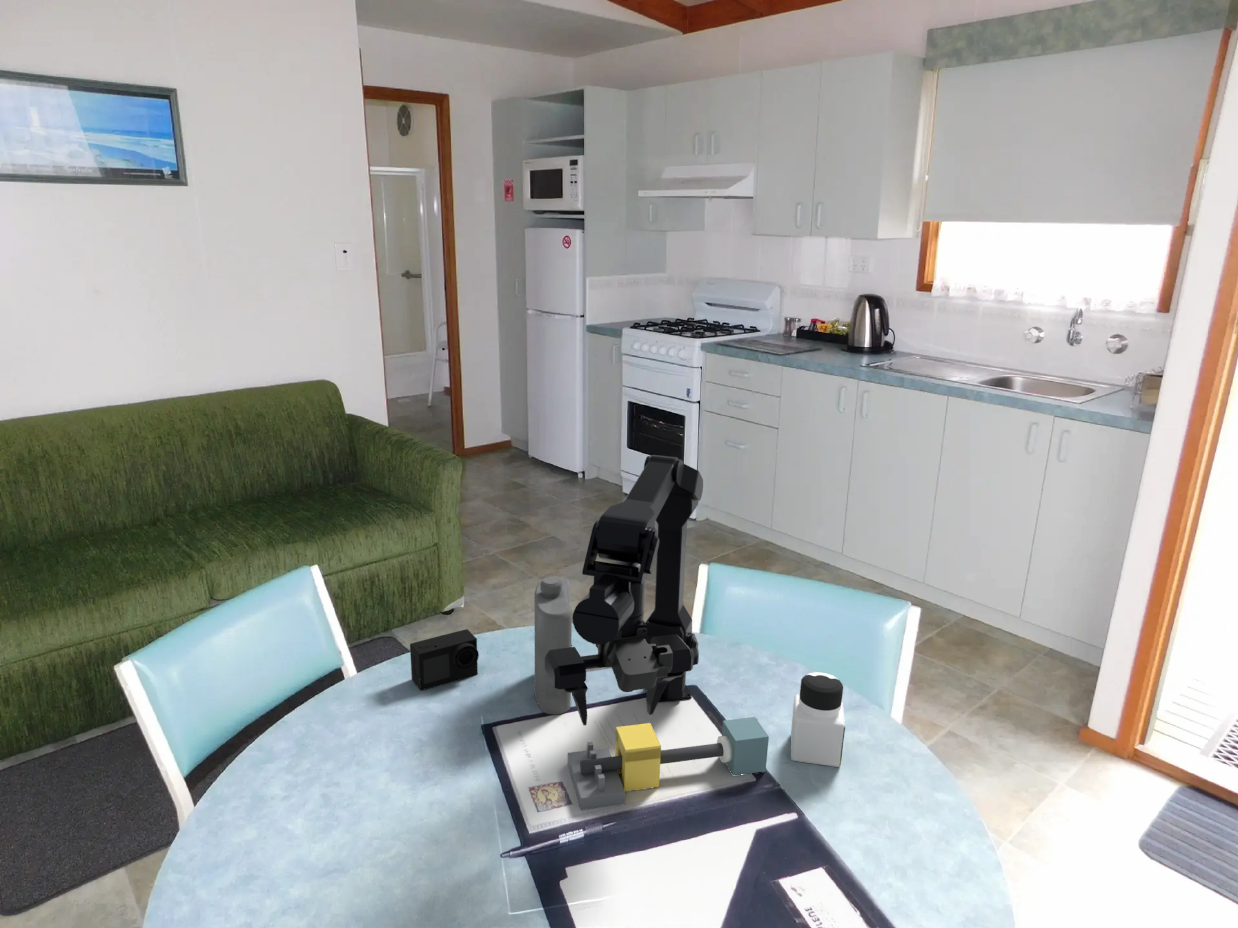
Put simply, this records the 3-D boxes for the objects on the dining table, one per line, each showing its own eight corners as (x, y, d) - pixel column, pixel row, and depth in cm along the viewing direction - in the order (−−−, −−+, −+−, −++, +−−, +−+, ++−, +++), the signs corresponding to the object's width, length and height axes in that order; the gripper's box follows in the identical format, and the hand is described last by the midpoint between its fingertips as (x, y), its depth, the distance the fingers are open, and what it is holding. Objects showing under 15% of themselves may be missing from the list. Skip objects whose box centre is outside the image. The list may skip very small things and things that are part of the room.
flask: (534, 667, 144) (534, 562, 139) (568, 667, 145) (569, 561, 139) (534, 716, 130) (534, 600, 125) (571, 715, 131) (572, 600, 125)
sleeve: (615, 767, 118) (616, 726, 116) (648, 763, 119) (650, 722, 117) (624, 791, 113) (625, 749, 111) (659, 787, 114) (661, 745, 112)
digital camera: (422, 694, 135) (420, 656, 133) (411, 679, 140) (409, 642, 138) (480, 677, 141) (480, 641, 139) (468, 663, 145) (467, 628, 143)
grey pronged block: (567, 764, 119) (567, 740, 118) (608, 759, 120) (608, 735, 119) (580, 810, 109) (581, 785, 108) (624, 804, 111) (625, 779, 110)
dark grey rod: (584, 797, 112) (585, 759, 110) (577, 774, 117) (578, 737, 115) (765, 772, 118) (768, 736, 116) (752, 751, 123) (754, 716, 121)
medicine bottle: (840, 768, 120) (849, 695, 116) (790, 761, 121) (797, 689, 118) (838, 739, 126) (846, 670, 123) (790, 733, 128) (797, 664, 124)
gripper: (567, 647, 95) (565, 765, 99) (715, 628, 101) (707, 741, 104) (544, 607, 105) (543, 716, 109) (679, 592, 111) (673, 696, 115)
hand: (617, 718), depth 109 cm, fingers open, 9 cm apart
